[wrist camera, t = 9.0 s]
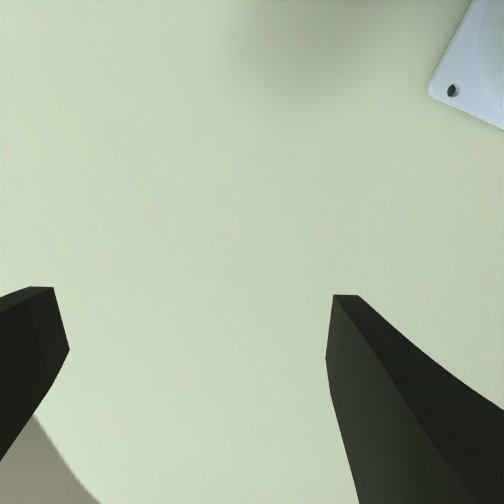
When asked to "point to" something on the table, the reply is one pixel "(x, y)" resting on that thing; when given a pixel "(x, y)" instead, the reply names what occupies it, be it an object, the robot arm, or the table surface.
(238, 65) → the table surface
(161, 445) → the table surface
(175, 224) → the table surface
